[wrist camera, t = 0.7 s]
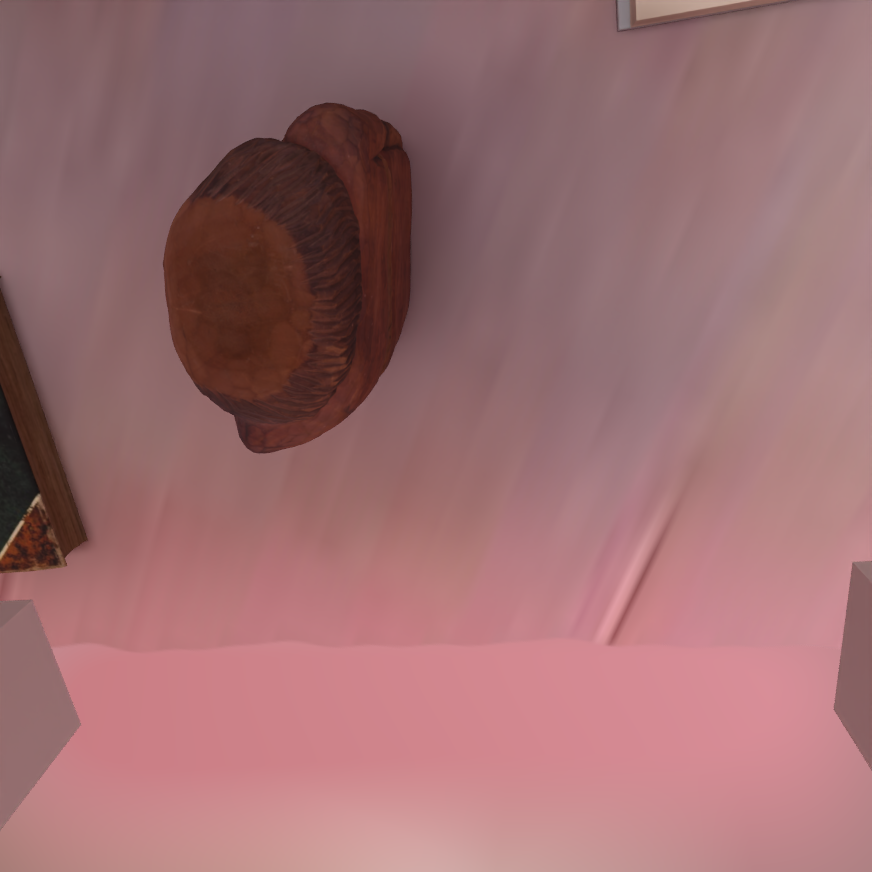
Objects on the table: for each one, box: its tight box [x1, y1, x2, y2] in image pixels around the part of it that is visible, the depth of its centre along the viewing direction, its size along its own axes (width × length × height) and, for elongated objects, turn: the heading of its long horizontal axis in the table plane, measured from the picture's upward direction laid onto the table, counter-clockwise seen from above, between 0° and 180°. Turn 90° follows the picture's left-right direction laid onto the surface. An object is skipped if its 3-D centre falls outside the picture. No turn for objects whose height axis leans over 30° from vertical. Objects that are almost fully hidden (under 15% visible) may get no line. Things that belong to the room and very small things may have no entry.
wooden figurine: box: [163, 103, 412, 453], centre depth 26 cm, size 12×6×18 cm, turn 177°
